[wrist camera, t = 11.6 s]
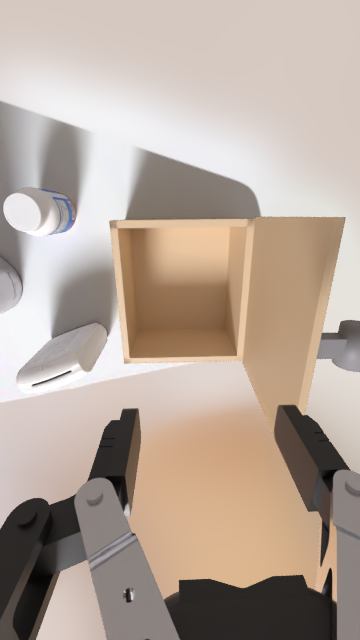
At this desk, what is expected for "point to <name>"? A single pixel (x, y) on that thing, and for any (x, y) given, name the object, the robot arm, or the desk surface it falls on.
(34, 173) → the desk surface
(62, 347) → the photo printer
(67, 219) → the pill bottle
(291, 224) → the carton lid
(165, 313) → the carton
